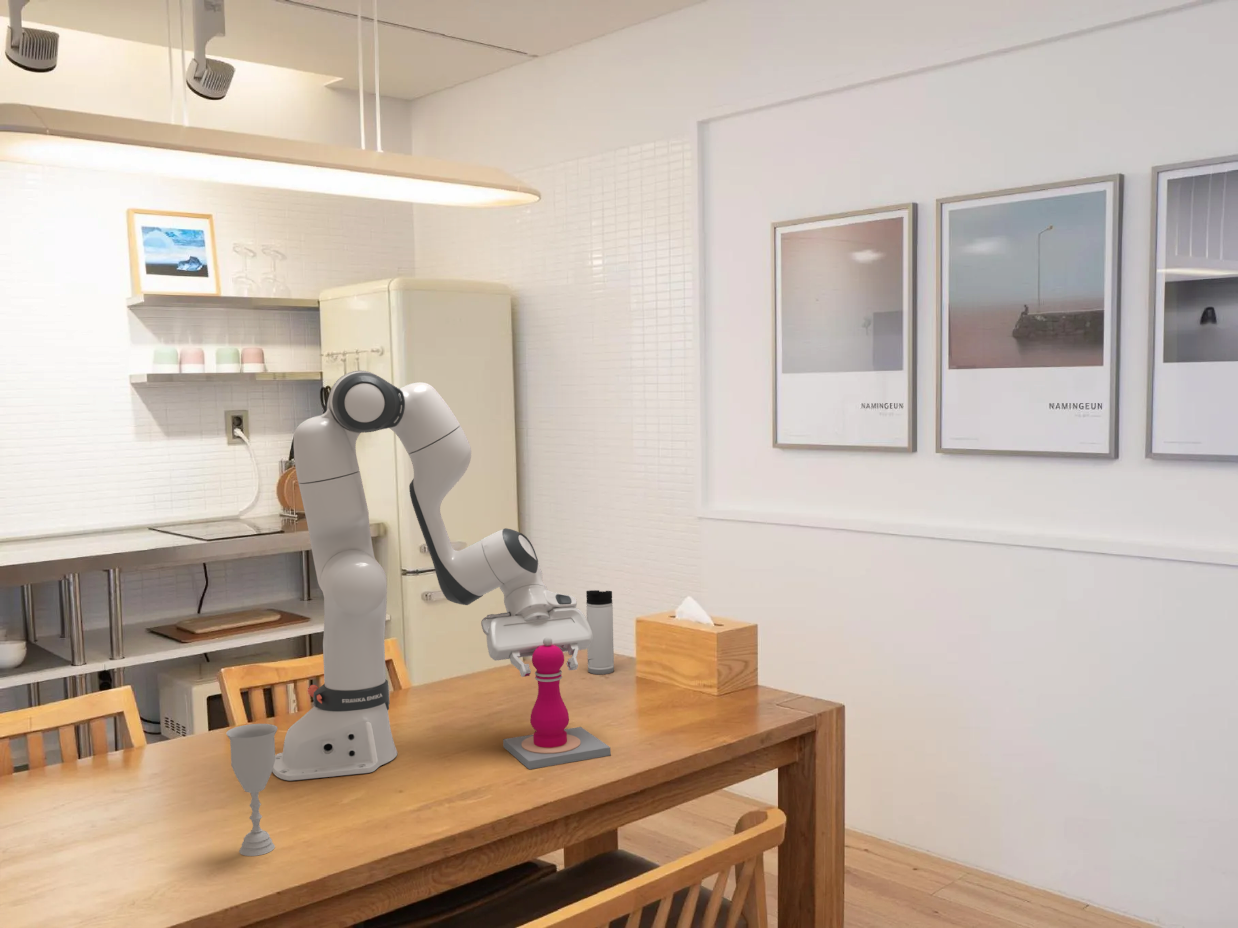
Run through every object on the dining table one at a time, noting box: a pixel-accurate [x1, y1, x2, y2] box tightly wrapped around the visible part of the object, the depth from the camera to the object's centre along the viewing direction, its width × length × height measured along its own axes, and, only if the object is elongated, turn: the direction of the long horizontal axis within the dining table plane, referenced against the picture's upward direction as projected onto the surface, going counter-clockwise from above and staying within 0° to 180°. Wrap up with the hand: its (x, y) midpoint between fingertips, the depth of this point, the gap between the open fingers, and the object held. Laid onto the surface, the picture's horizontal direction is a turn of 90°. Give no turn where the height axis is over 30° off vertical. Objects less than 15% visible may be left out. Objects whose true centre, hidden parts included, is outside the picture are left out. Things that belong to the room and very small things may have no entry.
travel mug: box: [585, 589, 615, 675], centre depth 262 cm, size 6×7×20 cm
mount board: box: [502, 726, 612, 770], centre depth 205 cm, size 16×14×2 cm
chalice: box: [225, 723, 278, 857], centre depth 163 cm, size 7×7×18 cm
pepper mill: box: [530, 637, 570, 748], centre depth 204 cm, size 7×7×20 cm
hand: (550, 671), depth 204 cm, fingers open, 8 cm apart
